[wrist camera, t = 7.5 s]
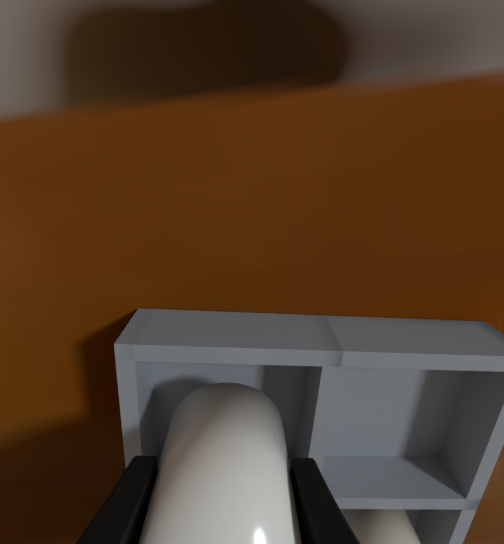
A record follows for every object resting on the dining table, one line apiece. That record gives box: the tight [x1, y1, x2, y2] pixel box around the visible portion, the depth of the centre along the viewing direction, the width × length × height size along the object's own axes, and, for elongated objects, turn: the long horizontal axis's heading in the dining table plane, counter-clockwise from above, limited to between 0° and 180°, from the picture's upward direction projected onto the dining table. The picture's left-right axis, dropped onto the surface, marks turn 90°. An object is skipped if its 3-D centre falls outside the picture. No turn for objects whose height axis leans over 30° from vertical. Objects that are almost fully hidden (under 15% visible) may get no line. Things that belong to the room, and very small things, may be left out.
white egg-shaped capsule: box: [138, 383, 302, 544], centre depth 8 cm, size 4×4×7 cm
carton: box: [114, 309, 504, 544], centre depth 15 cm, size 20×14×2 cm
